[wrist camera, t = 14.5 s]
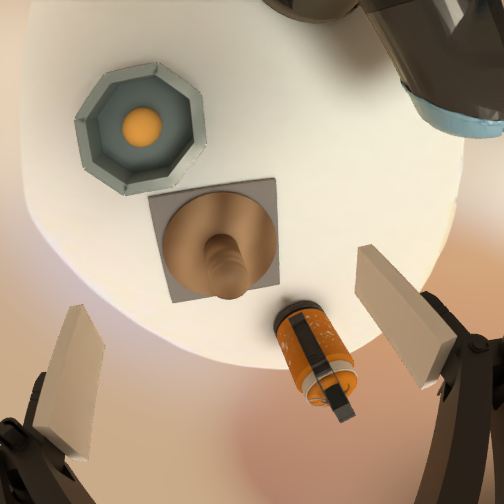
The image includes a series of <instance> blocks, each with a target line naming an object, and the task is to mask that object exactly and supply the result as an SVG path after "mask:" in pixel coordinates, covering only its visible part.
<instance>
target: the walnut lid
mask: <svg viewBox="0 0 504 504" xmlns="http://www.w3.org/2000/svg"><path fill="white" fill-rule="evenodd" d="M276 248H277V236H276V231H275V227H274V224H273V222H272V220H271V218H270V217H269V215H268V214H267V212H266V211H265V210H264V209H263V208H262V207H261V206H260V205H259V204H258V203H257V202H255V201H254V200H252V199H251V198H249V197H247V196H245V195H242V194H239V193H235V192H229V191H217V192H210V193H206V194H203V195H200V196H197V197H195V198H193V199H191V200H190V201H188V202H187V203H185V204H184V205H183V206H182V207H181V208H179V209H178V211H177V212H176V213H175V214H174V215H173V217H172V218H171V220H170V221H169V224H168V226H167V228H166V231H165V235H164V241H163V254H164V259H165V263H166V265H167V268H168V270H169V271H170V273H171V274H172V276H173V277H174V278H175V279H176V280H177V281H178V282H179V283H180V284H181V285H182V286H184V287H185V288H187V289H189V290H191V291H193V292H195V293H198V294H202V295H207V296H217V297H219V298H221V299H226V300H231V299H236V298H238V297H240V296H242V295H243V294H244V293H245V292H246V291H247V290H248V288H249V287H250V286H252V285H253V284H255V283H256V282H257V281H258V280H259V279H260V278H261V277H263V275H264V274H265V273H266V272H267V270H268V269H269V267H270V266H271V264H272V262H273V259H274V256H275V253H276Z"/></svg>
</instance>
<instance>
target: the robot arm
mask: <svg viewBox="0 0 504 504" xmlns="http://www.w3.org/2000/svg"><path fill="white" fill-rule="evenodd" d="M263 1H264V2H265V3H266V4H267V5H269V6H270V7H271V8H273V9H274V10H276V11H277V12H279V13H281V14H283V15H285V16H287V17H289V18H292V19H295V20H298V21H302V22H308V23H325V22H330V21H334V20H337V19H339V18H342V17H345V16H347V15H348V14H350V13H352V12H353V11H354V10H355V9H357V8H358V6H359V5H361V7H362V8H363V10H364V11H365V13H366V15H367V16H368V18H369V20H370V21H371V23H372V25H373V27H374V28H375V30H376V32H377V34H378V35H379V37H380V39H381V41H382V43H383V44H384V46H385V48H386V50H387V52H388V54H389V56H390V58H391V60H392V62H393V64H394V66H395V68H396V70H397V72H398V74H399V76H400V80H401V84H402V86H403V88H404V89H405V90H406V92H407V93H408V94H409V96H410V98H411V100H412V102H413V104H414V106H415V108H416V110H417V112H418V113H419V115H420V116H421V117H422V119H423V120H425V121H426V122H428V123H429V124H430V125H431V126H432V127H434V128H436V129H438V130H440V131H442V132H445V133H447V134H450V135H454V136H458V137H465V138H475V139H482V138H493V137H498V136H501V134H502V132H504V0H263ZM355 294H356V296H357V297H358V298H359V300H360V301H361V303H362V304H363V305H364V307H365V308H366V310H367V311H368V312H369V314H370V315H371V317H372V318H373V319H374V321H375V322H376V324H377V325H378V327H379V328H380V329H381V331H382V332H383V334H384V335H385V336H386V338H387V340H388V341H389V342H390V344H391V345H392V347H393V348H394V350H395V351H396V353H397V354H398V356H399V357H400V359H401V360H402V362H403V363H404V365H405V366H406V368H407V369H408V370H409V372H410V374H411V375H412V376H413V378H414V380H415V381H416V383H417V384H418V386H419V388H420V389H421V390H422V389H424V388H426V387H429V386H431V385H433V384H435V383H436V382H437V380H438V378H439V375H440V374H441V375H442V377H443V378H444V382H443V383H442V385H441V387H440V389H439V391H438V393H437V395H438V396H439V395H440V393H441V398H440V403H439V409H438V415H437V420H436V425H435V430H434V434H433V439H432V443H431V447H430V451H429V455H428V459H427V463H426V467H425V470H424V474H423V477H422V480H421V484H420V487H419V490H418V493H417V496H416V499H415V502H414V504H478V500H479V496H480V492H481V486H482V482H483V476H484V471H485V465H486V459H487V452H488V444H489V435H490V431H491V438H492V449H493V460H494V474H495V504H504V336H503V338H500V339H494V340H487V339H486V338H485V337H484V336H482V335H479V334H470V333H469V332H468V331H467V330H466V328H465V327H464V326H463V325H462V324H461V323H460V322H459V321H458V319H456V317H455V316H454V315H453V314H452V313H451V312H449V310H448V309H447V307H446V306H444V305H443V303H442V302H441V301H440V300H439V299H438V298H437V297H436V296H434V295H433V294H431V293H429V292H427V291H425V292H422V293H419V292H418V291H417V290H416V289H415V288H414V287H413V286H412V285H411V284H410V283H409V282H408V281H407V280H406V279H405V277H404V276H403V275H402V274H401V273H400V272H399V271H398V270H397V269H396V268H395V267H394V266H393V265H392V264H391V263H390V262H389V261H388V260H387V259H386V258H385V257H384V256H383V255H382V254H381V253H380V252H379V251H378V250H377V249H376V248H375V247H374V246H373V245H372V244H370V245H366V246H361V247H358V255H357V270H356V283H355ZM104 349H105V344H104V342H103V341H102V339H101V337H100V335H99V333H98V332H97V330H96V328H95V326H94V324H93V322H92V321H91V319H90V317H89V315H88V313H87V311H86V309H85V307H84V305H83V304H82V305H76V306H71V307H69V310H68V313H67V315H66V318H65V320H64V323H63V326H62V329H61V331H60V334H59V337H58V340H57V342H56V345H55V348H54V351H53V354H52V357H51V360H50V363H49V367H48V370H47V372H42V373H41V374H40V375H39V377H38V378H37V380H36V381H35V384H34V387H33V390H32V392H33V393H32V394H31V397H30V402H29V405H28V408H27V412H26V416H25V420H24V424H23V426H22V425H21V424H20V423H19V422H18V421H17V420H16V419H14V418H6V419H4V420H2V421H1V422H0V444H1V446H0V504H96V503H95V502H94V500H93V499H92V498H91V496H90V495H89V494H88V492H87V491H86V490H85V488H84V487H83V486H82V485H81V483H80V481H79V480H78V479H77V477H76V476H75V474H74V473H73V471H72V470H71V468H70V467H69V465H68V464H67V463H66V462H65V461H64V460H65V455H66V456H68V457H69V458H70V459H72V460H73V461H89V450H90V441H91V432H92V423H93V416H94V408H95V401H96V394H97V388H98V381H99V376H100V370H101V365H102V360H103V354H104Z"/></svg>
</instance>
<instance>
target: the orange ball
mask: <svg viewBox="0 0 504 504" xmlns="http://www.w3.org/2000/svg"><path fill="white" fill-rule="evenodd" d="M161 131H162V121H161V118H160V116H159V115H158V114H157V113H156V112H155V111H154V110H152V109H150V108H137V109H134V110H133V111H131V112H130V113H129V114H128V115H127V116H126V117H125V119H124V121H123V125H122V133H123V136H124V138H125V140H126V141H127V142H128V143H129V144H131V145H133V146H136V147H146V146H149V145H151V144H152V143H154V142H155V141H156V140H157V139H158V137H159V136H160V134H161Z"/></svg>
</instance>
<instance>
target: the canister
mask: <svg viewBox="0 0 504 504" xmlns="http://www.w3.org/2000/svg"><path fill="white" fill-rule="evenodd" d="M274 332H275V335H276V337H277V340H278V342H279V345H280V347H281V350H282V352H283V355H284V357H285V360H286V362H287V365H288V367H289V369H290V372H291V374H292V377H293V379H294V382H295V384H296V386H297V389H298V390H299V391H300V392H301V393H304V396H305V398H306V400H307V401H308V402H307V404H308V405H310V406H313V407H325V406H330V407H331V409H332V410H333V412H334V413H335V415H336V416H337V418H338V420H339V422H340V423H342V422H344V421H346V420H348V419H350V418H352V417H354V416H356V415H355V412H354V411H353V409H352V407H351V405H350V403H349V401H348V399H347V396H349V395H350V394H351V393H352V392H353V391H354V389H355V388H356V385H357V378H358V377H357V373H356V372H355V370H354V360H353V359H352V357H351V355H350V354H349V352H348V350H347V349H346V347H345V345H344V344H343V342H342V340H341V339H340V337H339V336H338V334H337V332H336V331H335V329H334V327H333V326H332V324H331V322H330V321H329V319H328V318H327V316H326V314H325V313H324V311H323V310H322V308H321V307H320V306H319V305H317V304H315V303H311V302H302V303H298V304H295V305H293V306H290V307H289V308H287V309H286V310H284V311H283V312H282V313H281V314H280V315H279V317H278V318H277V320H276V322H275V325H274Z"/></svg>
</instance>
